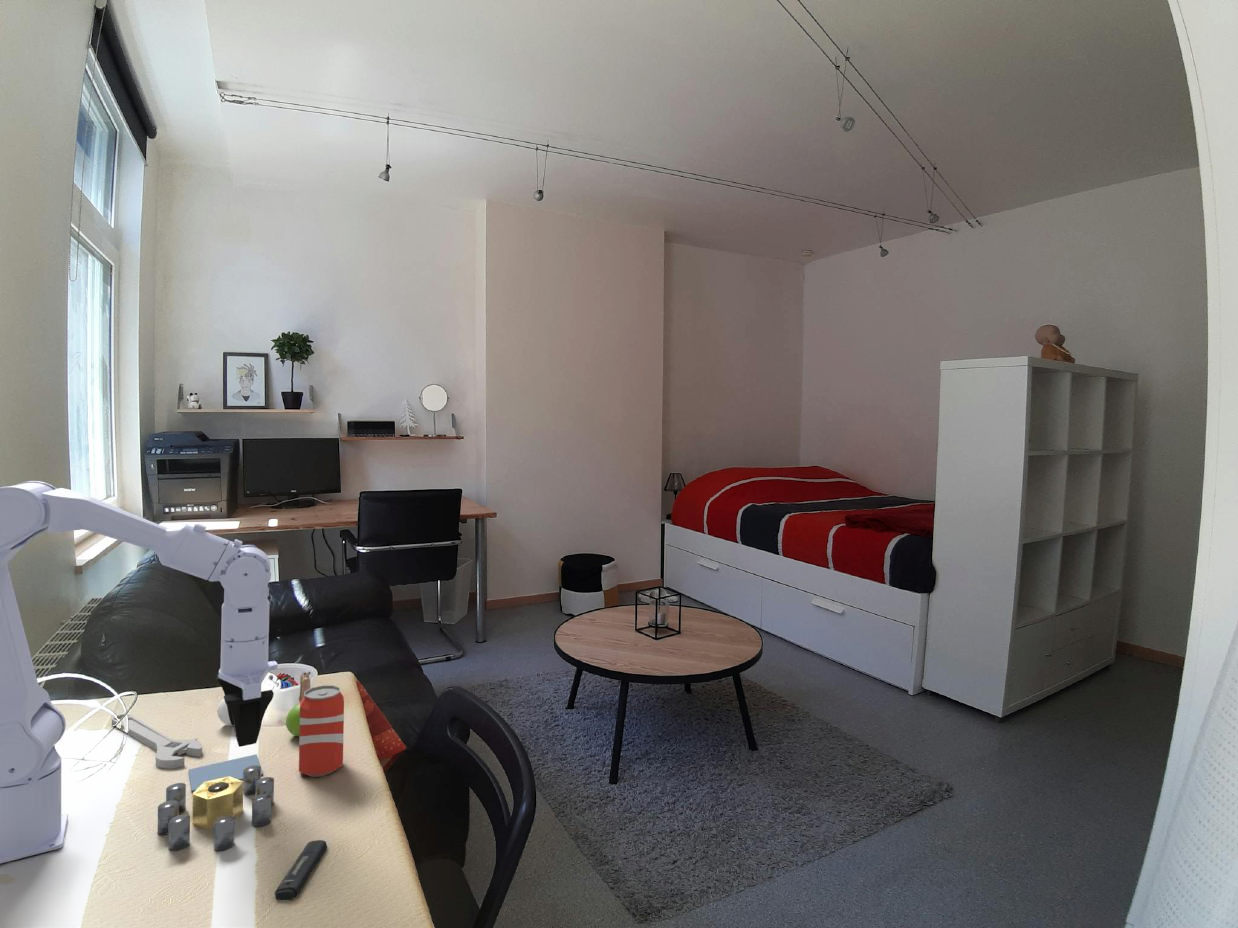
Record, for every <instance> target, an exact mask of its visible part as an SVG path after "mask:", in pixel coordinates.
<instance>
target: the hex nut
mask: <svg viewBox="0 0 1238 928" xmlns="http://www.w3.org/2000/svg"><path fill="white" fill-rule="evenodd" d="M243 811H244V794H243V780H242V781H241V780H238V779H235V778H232V777H229V776H228V777H224V778H220V779H216V780H211V781H207V782H204V783H203V784H202V785H201V786H200V787H199V788H198V789H197V790H196V791H195V792H192V815H191V816H192V817H191V819H192V825H195V826H197V827H200V828H202V829H205V830H209V829H214V821H215V820H216V819H217V818H219V817H221V816H225V815H232V816H234V817H235V820H236V819H237V818H238V817H239V816H240V814H241V813H242V812H243Z"/></svg>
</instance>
